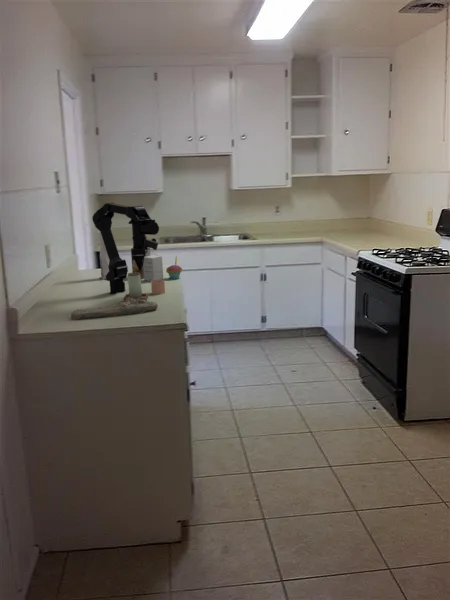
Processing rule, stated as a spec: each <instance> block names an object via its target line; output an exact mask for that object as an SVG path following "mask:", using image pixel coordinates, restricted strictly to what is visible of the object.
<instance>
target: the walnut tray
mask: <svg viewBox="0 0 450 600" xmlns="http://www.w3.org/2000/svg"><path fill="white" fill-rule="evenodd" d="M148 297H149V293H148V292H146V293H145V292H144V293H143V292H142V298H133V299H139V300H146V301H148ZM129 298H130V296H129V293H127V294H125V295H124V297H123V302H125V301H126V300H127V299H129Z"/></svg>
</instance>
